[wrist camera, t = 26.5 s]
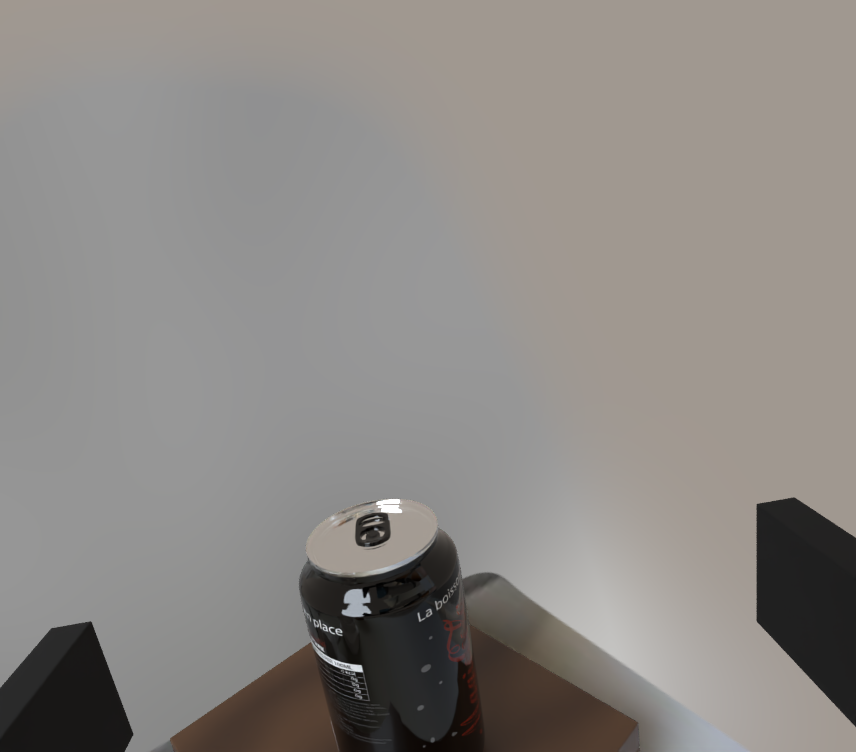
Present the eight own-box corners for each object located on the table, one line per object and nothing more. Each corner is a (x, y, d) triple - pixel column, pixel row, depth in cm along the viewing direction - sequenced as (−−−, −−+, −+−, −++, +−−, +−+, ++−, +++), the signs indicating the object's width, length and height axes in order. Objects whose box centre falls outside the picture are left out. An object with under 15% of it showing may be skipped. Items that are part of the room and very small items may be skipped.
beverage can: (473, 683, 30) (441, 481, 27) (503, 810, 23) (466, 562, 20) (348, 709, 29) (300, 507, 26) (342, 846, 23) (277, 599, 20)
